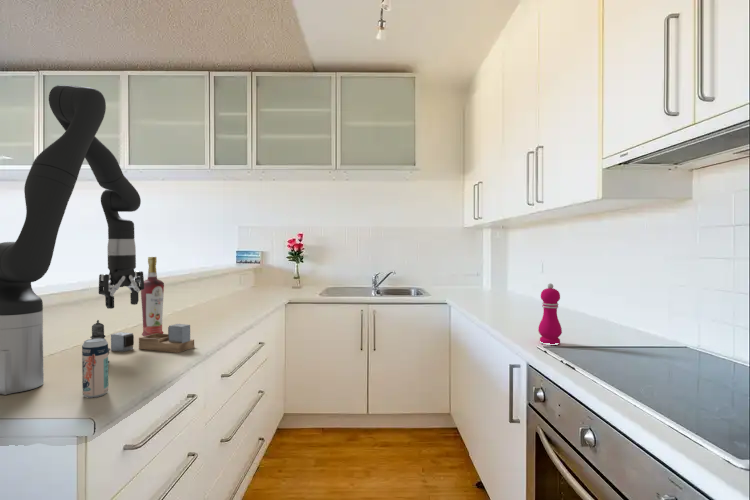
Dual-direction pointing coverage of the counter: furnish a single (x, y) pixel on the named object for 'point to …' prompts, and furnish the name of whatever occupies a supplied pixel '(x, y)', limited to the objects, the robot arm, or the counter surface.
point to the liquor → (152, 301)
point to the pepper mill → (550, 316)
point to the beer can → (95, 367)
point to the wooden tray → (163, 343)
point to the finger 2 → (179, 333)
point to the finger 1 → (122, 341)
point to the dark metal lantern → (98, 332)
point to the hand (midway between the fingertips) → (122, 306)
